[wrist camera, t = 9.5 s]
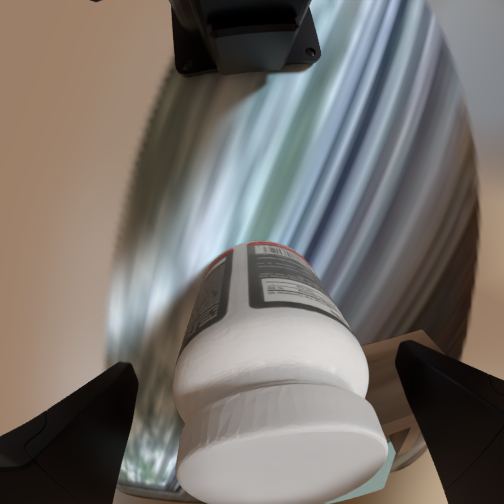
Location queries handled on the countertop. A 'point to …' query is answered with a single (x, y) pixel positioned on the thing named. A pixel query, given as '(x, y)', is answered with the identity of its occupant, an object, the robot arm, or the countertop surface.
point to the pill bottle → (272, 387)
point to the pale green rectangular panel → (376, 481)
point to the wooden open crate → (392, 390)
